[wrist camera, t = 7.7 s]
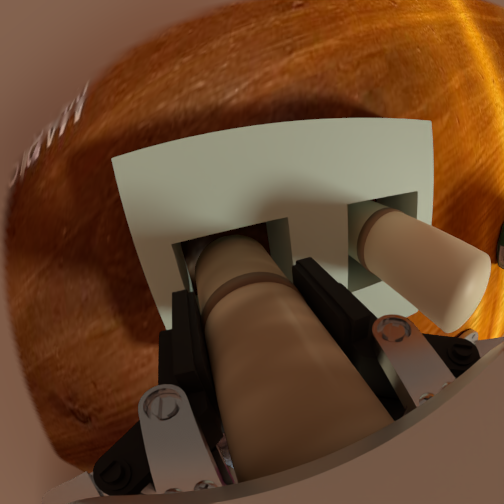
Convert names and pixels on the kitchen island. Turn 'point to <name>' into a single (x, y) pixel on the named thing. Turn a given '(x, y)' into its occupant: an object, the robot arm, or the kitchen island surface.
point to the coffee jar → (501, 249)
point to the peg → (276, 365)
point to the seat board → (308, 210)
